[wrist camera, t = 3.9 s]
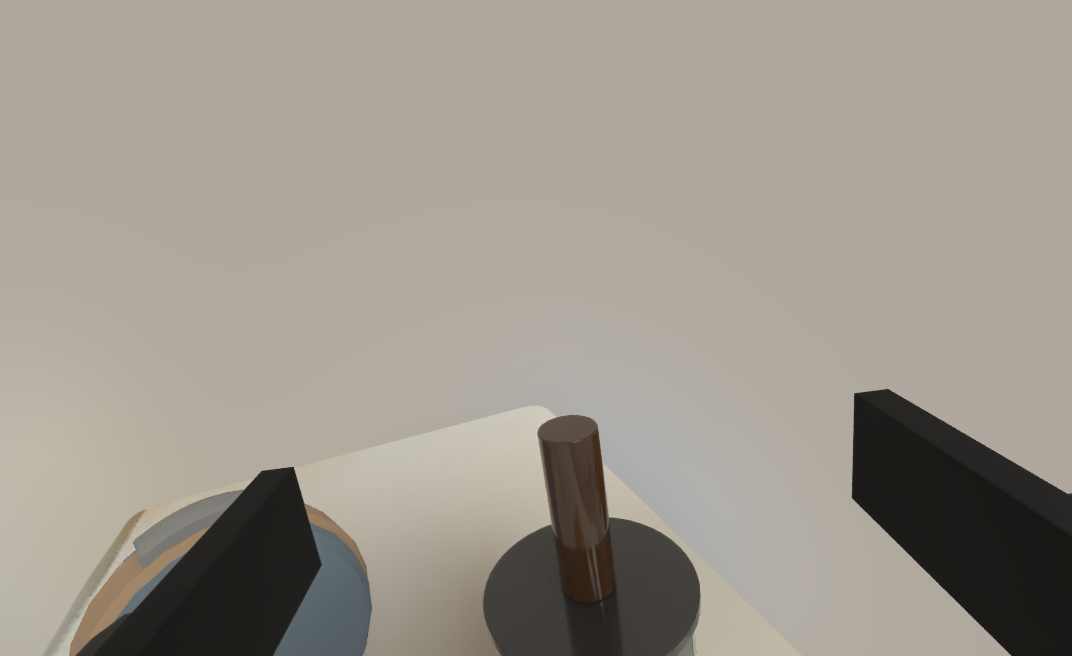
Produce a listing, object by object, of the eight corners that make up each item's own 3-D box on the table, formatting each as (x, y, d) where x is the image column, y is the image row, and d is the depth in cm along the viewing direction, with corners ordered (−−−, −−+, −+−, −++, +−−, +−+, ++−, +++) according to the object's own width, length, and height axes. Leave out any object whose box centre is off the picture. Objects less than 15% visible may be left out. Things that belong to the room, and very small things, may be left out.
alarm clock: (359, 643, 40) (297, 430, 36) (430, 724, 33) (366, 473, 29) (132, 806, 31) (9, 549, 26) (164, 966, 24) (5, 655, 19)
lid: (735, 575, 26) (726, 399, 23) (632, 756, 19) (603, 530, 16) (568, 515, 32) (547, 372, 30) (442, 632, 25) (401, 457, 23)
